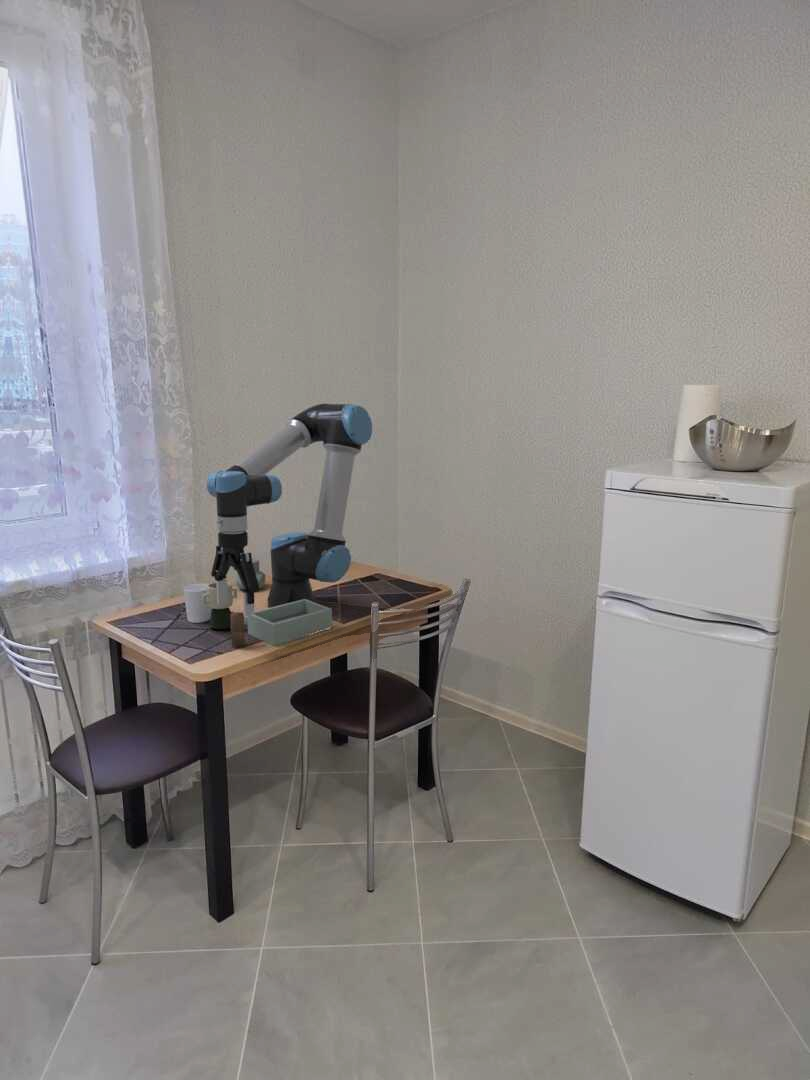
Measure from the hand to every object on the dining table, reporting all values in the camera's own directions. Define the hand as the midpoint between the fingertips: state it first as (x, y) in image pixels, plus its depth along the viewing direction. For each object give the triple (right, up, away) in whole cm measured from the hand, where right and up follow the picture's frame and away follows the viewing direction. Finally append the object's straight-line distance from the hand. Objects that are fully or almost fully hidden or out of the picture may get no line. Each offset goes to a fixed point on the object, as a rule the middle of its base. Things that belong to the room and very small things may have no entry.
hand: (235, 609), depth 190 cm
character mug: (-8, -7, +17) cm, 20 cm away
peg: (0, -10, +3) cm, 11 cm away
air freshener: (-8, +2, +55) cm, 56 cm away
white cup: (-17, -6, +24) cm, 29 cm away
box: (+12, -8, +14) cm, 20 cm away
